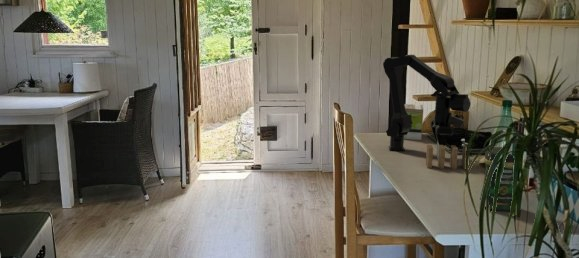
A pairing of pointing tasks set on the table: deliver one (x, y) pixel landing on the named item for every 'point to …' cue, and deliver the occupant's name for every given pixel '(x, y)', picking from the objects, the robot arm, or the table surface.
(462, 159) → the domino
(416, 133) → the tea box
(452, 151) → the domino
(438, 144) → the blue-grey rectangular block
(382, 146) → the table surface
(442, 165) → the domino
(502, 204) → the coffee jar
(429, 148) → the domino
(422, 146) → the table surface
